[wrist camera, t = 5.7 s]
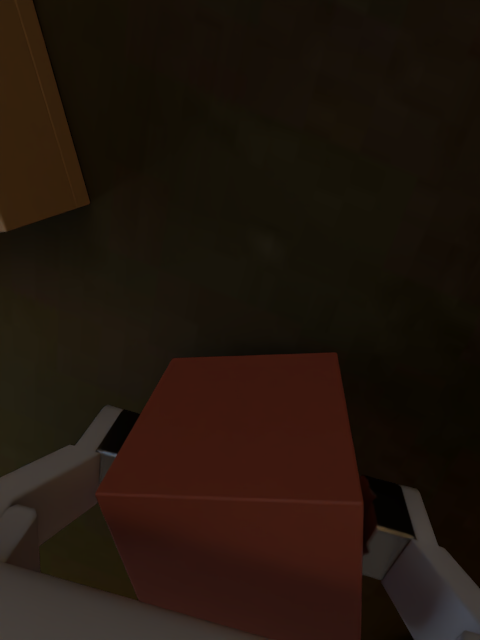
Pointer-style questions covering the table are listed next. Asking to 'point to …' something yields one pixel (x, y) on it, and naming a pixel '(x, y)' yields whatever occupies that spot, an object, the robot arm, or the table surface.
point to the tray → (32, 127)
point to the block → (244, 497)
